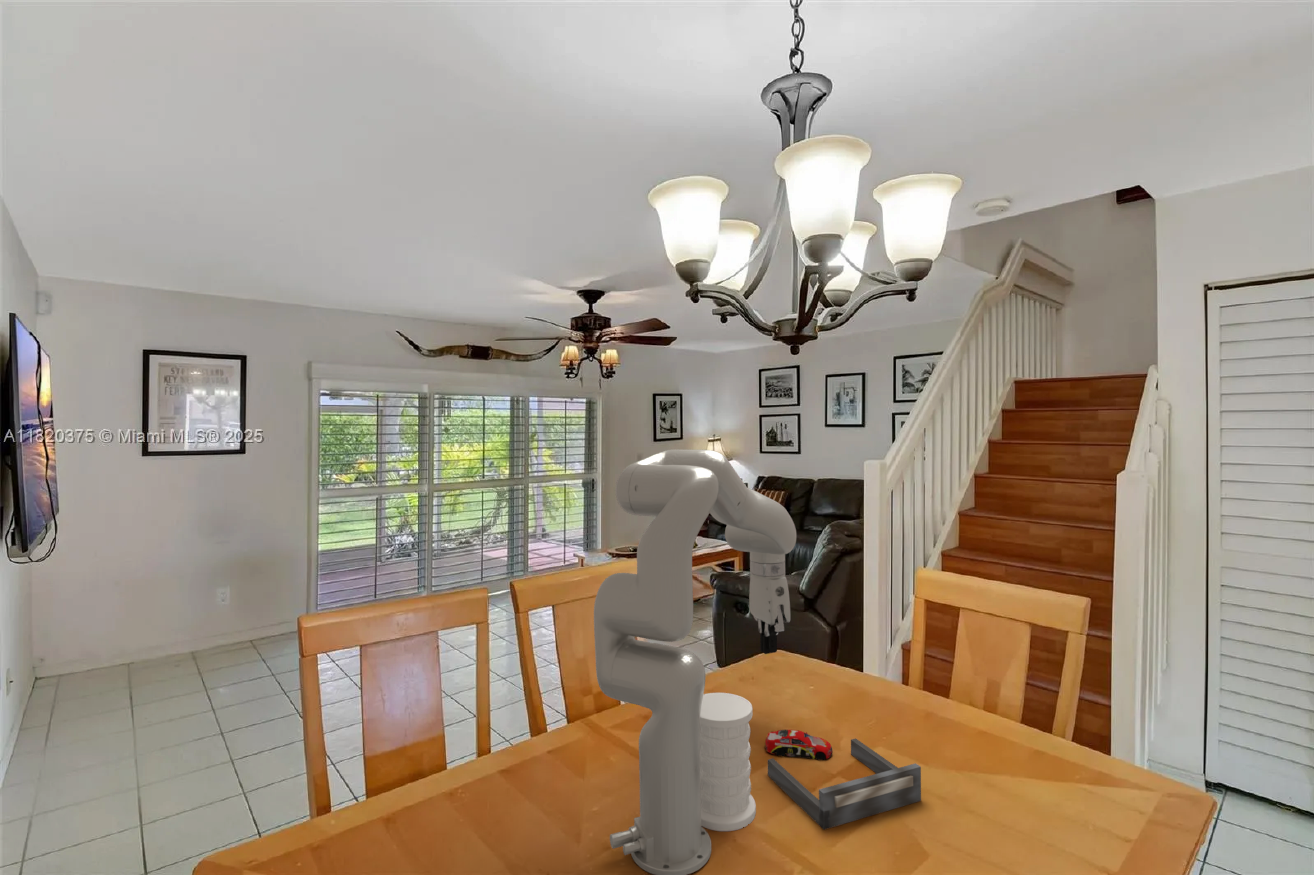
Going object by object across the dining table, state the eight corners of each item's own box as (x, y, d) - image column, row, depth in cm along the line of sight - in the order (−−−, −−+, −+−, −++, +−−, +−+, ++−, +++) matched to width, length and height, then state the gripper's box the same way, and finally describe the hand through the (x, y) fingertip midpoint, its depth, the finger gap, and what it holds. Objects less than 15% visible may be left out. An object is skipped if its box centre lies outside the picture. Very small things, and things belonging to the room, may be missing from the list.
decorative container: (677, 798, 111) (676, 698, 110) (735, 784, 115) (734, 687, 114) (705, 838, 100) (704, 727, 99) (768, 821, 104) (767, 714, 104)
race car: (832, 750, 127) (832, 730, 127) (833, 764, 122) (833, 743, 122) (766, 742, 130) (766, 723, 130) (764, 756, 125) (764, 736, 125)
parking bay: (825, 831, 101) (825, 795, 101) (767, 775, 118) (767, 743, 117) (923, 802, 108) (922, 768, 108) (855, 753, 125) (855, 723, 125)
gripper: (802, 574, 130) (803, 661, 130) (764, 559, 144) (765, 638, 144) (771, 578, 127) (772, 667, 128) (735, 563, 141) (736, 643, 142)
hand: (768, 651), depth 136 cm, fingers closed
